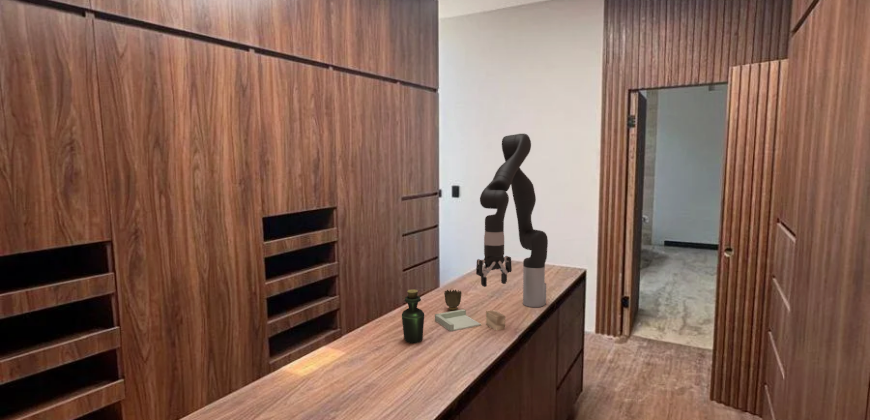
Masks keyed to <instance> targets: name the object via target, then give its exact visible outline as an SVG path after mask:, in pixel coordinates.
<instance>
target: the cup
mask: <svg viewBox="0 0 870 420" xmlns="http://www.w3.org/2000/svg"><path fill="white" fill-rule="evenodd" d="M461 299H462V291H461V290H459V289H458V290H457V289H452V290H451V289H450V290H448V289H447V290H444V301H445V304H446V306H447V307H448V310H449V311H450V312H451V311H457V310H458V307H459V306H460V305H461V303H462V301H461Z"/></svg>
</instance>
